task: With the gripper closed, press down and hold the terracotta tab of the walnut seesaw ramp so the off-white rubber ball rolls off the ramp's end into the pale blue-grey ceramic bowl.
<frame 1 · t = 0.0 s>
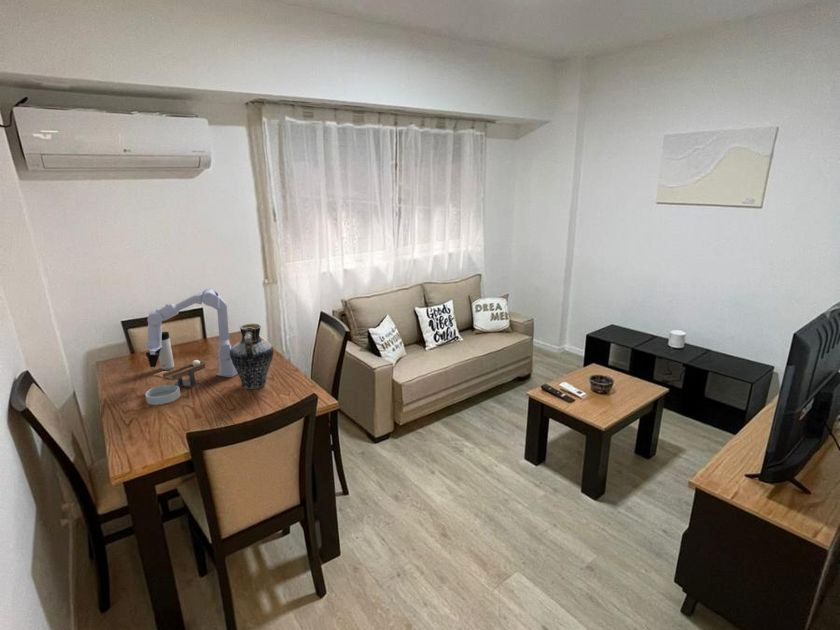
hand: (153, 363, 214), 11 cm above the table, tool pointing down, fingers open, 7 cm apart
bowl: (163, 397, 204), on the table
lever: (179, 369, 216), point 7 cm above the table, hinge at 6.0°, touching ball
ball: (196, 363, 221), point 8 cm above the table, tilted 15°, touching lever
travel mug: (168, 368, 235), on the table
jug: (255, 385, 217), on the table
stand: (186, 384, 217), on the table
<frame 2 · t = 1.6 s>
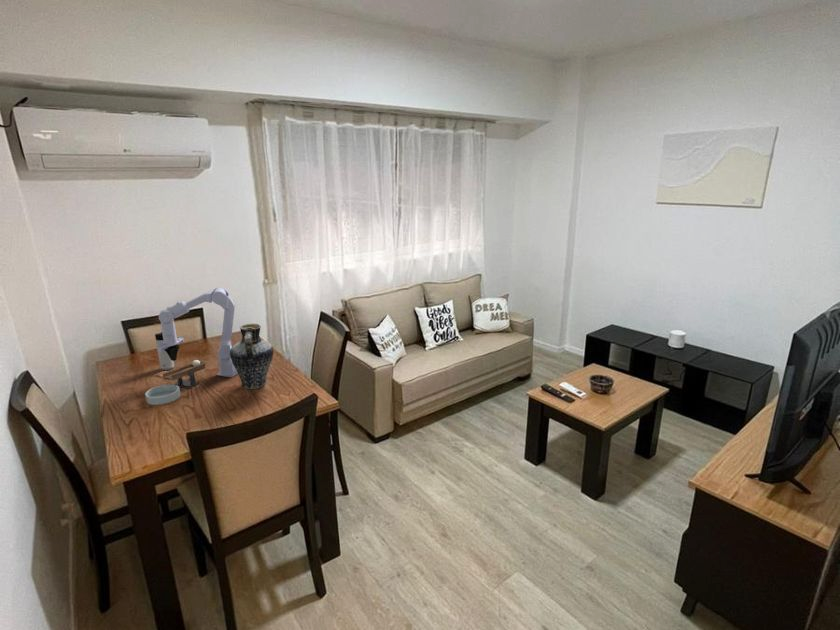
hand: (173, 360, 219), 10 cm above the table, tool pointing down, fingers closed
nothing on the table moved.
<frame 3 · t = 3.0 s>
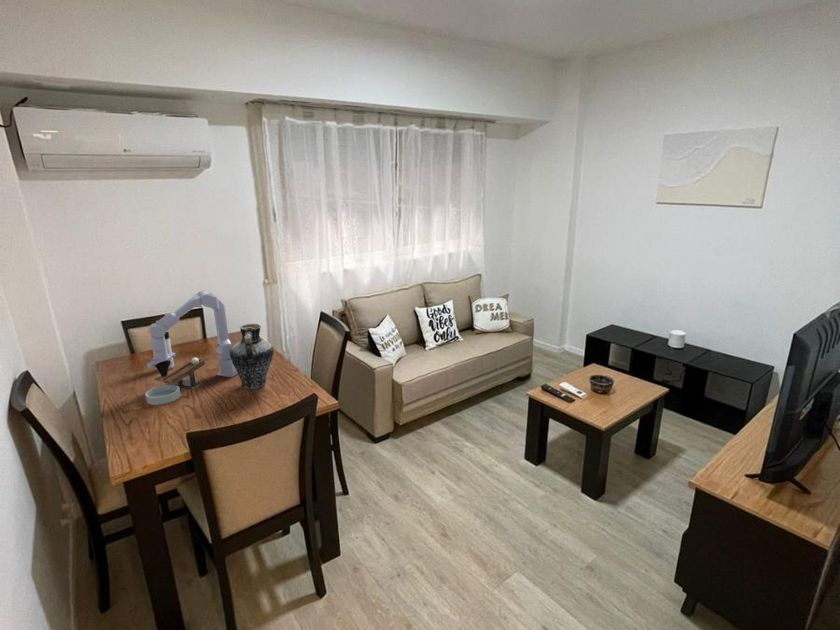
hand: (164, 376, 211), 6 cm above the table, tool pointing down, fingers closed, pressing on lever
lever: (179, 370, 215), point 7 cm above the table, hinge at -5.0°, touching ball, gripper
ball: (195, 361, 221), point 9 cm above the table, touching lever
everything else where it was.
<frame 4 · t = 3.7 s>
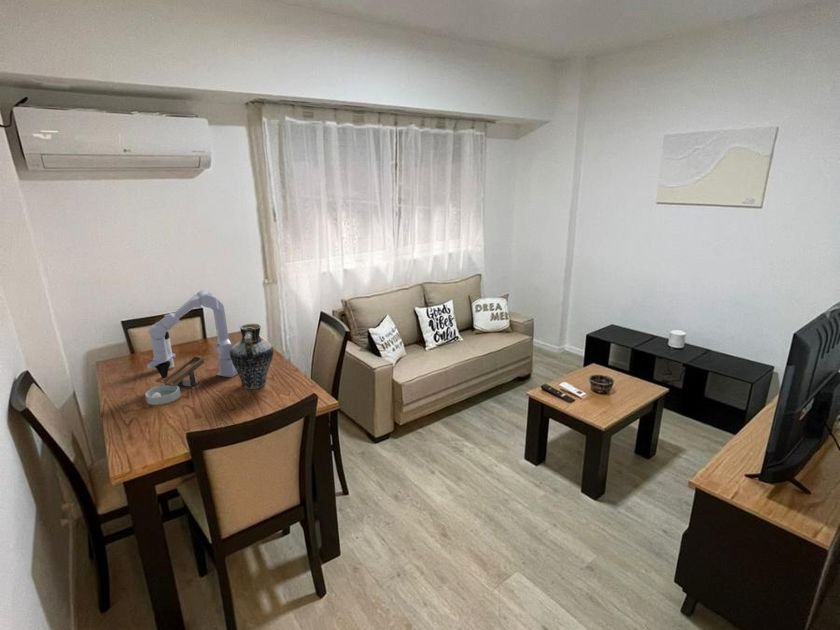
hand: (164, 377, 211), 6 cm above the table, tool pointing down, fingers closed
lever: (178, 370, 215), point 7 cm above the table, hinge at -10.9°, touching gripper
ball: (156, 396, 200), point 2 cm above the table, tilted 176°
everything else where it was.
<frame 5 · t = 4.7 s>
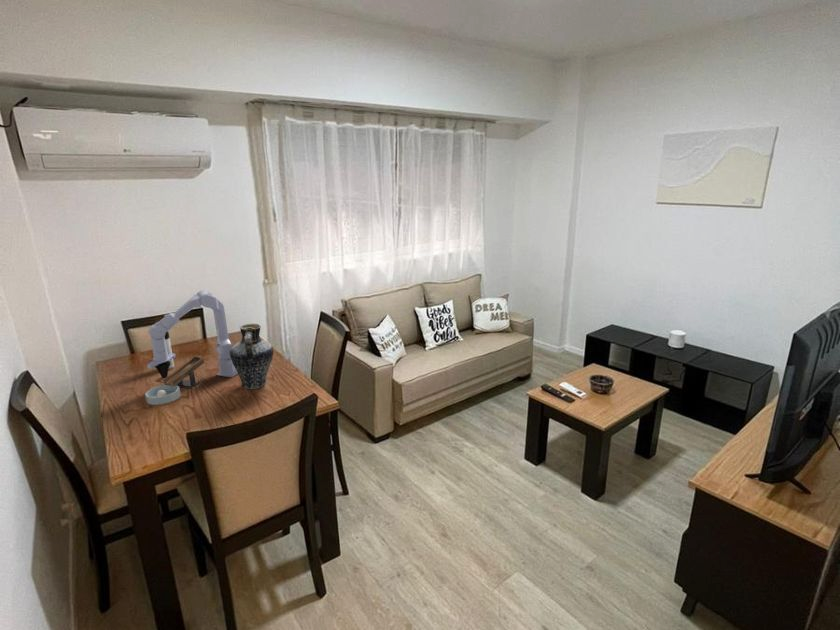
hand: (164, 377, 211), 6 cm above the table, tool pointing down, fingers closed
ball: (161, 393, 202), point 2 cm above the table, tilted 87°, touching bowl
everything else where it was.
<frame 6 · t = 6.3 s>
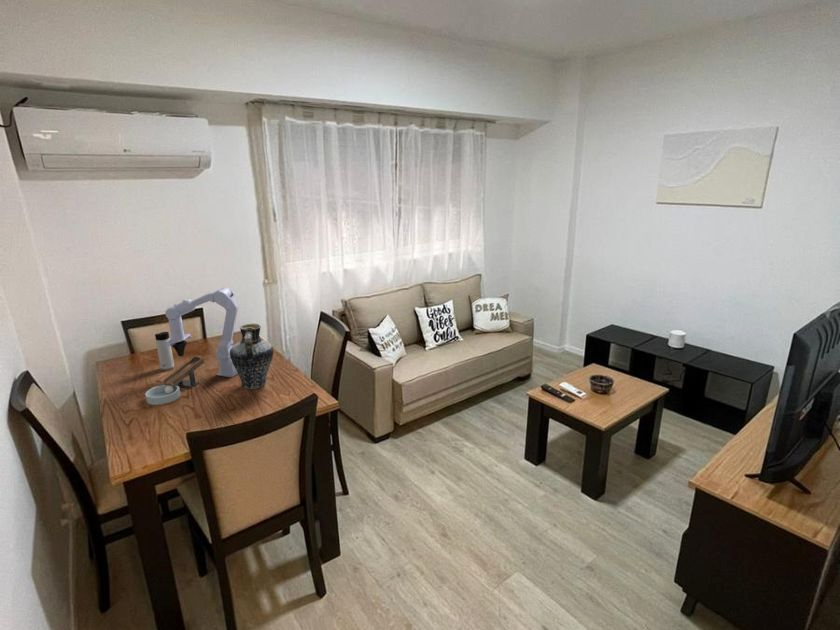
hand: (181, 355, 225), 10 cm above the table, tool pointing down, fingers closed
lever: (178, 370, 215), point 7 cm above the table, hinge at -10.9°
ball: (169, 389, 207), point 2 cm above the table, tilted 57°, touching bowl
everything else where it was.
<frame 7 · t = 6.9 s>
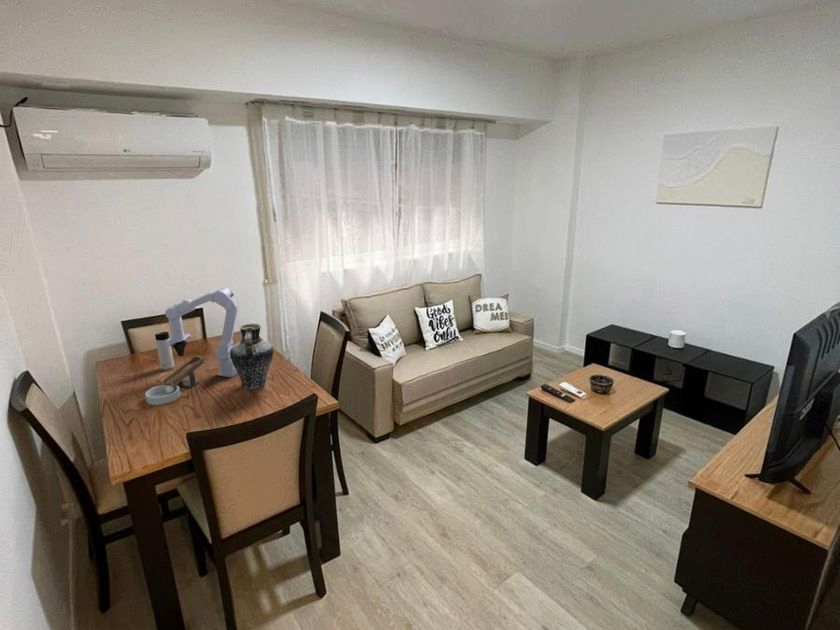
hand: (181, 355, 225), 10 cm above the table, tool pointing down, fingers closed
ball: (170, 389, 207), point 2 cm above the table, tilted 74°, touching bowl
everything else where it was.
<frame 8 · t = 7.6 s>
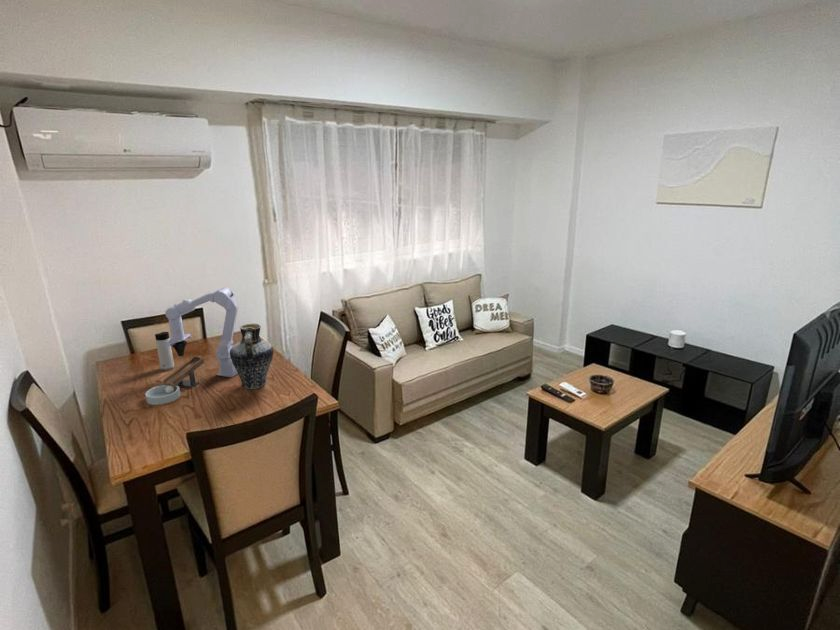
hand: (181, 355, 225), 10 cm above the table, tool pointing down, fingers closed
ball: (169, 389, 207), point 2 cm above the table, tilted 67°, touching bowl
everything else where it was.
at the end: ball 3.9 cm from the bowl (horizontally); ball point 2.3 cm above the table; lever at -11° (first picture: +6°) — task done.
